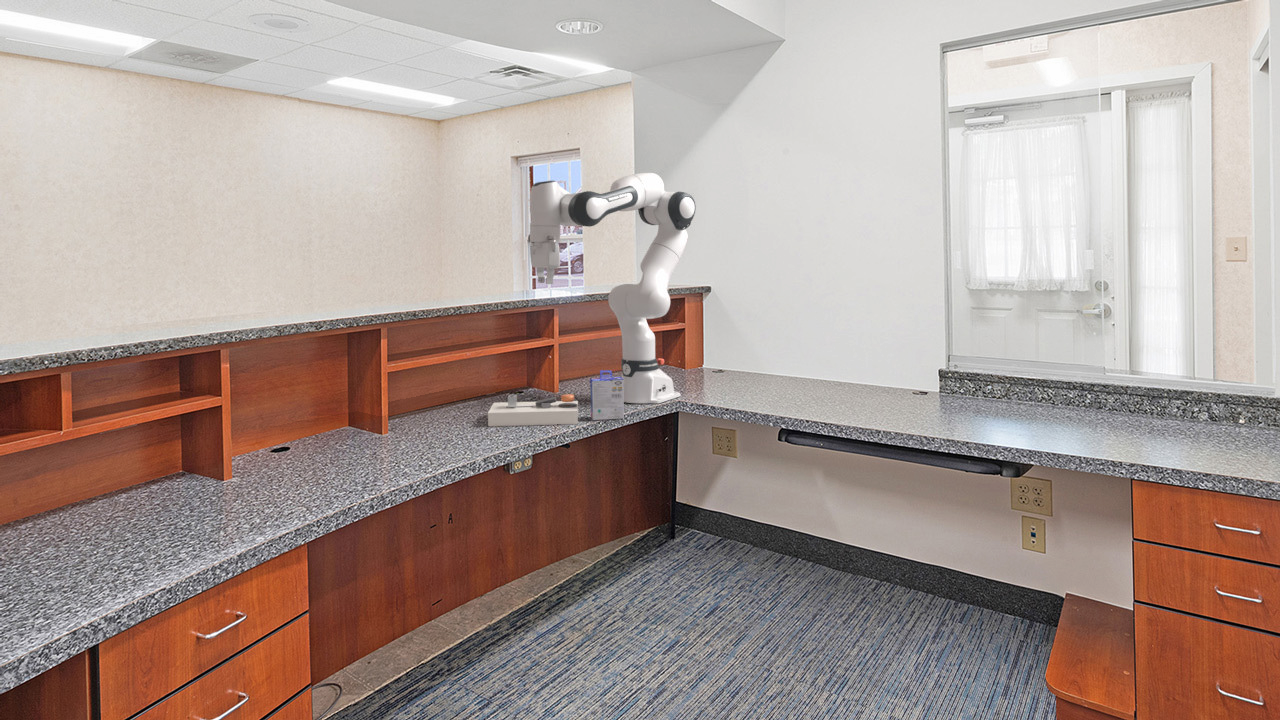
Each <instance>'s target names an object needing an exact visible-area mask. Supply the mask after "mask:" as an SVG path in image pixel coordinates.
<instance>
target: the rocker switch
mask: <svg viewBox="0 0 1280 720" xmlns="http://www.w3.org/2000/svg"><path fill="white" fill-rule="evenodd" d="M556 401H557V396H551V397H547V398H543V399H539V400H536V401H535V402H536V407H537V406H541V405H542V403H554V402H556Z"/></svg>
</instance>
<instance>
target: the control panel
mask: <svg viewBox="0 0 1280 720" xmlns="http://www.w3.org/2000/svg"><path fill="white" fill-rule="evenodd" d="M487 420H488V421H487V424H488V425H487V427H508V426H509V427H512V426H513V427H517V426H518V427H519V426H552V425H553V426H554V425H555V426H558V425H557V424H561V425H578V424H579V401H578V400H574V401H573V402H562V401H561V400H559V401H558V400H556V402H554V403H542V405H541V406H537V407H536V401H517V406H516V407H508V401H505V402H501V401H499V402H493V403H492V405H491V407H490V409H489V410H488V412H487Z"/></svg>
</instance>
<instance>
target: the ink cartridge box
mask: <svg viewBox="0 0 1280 720" xmlns="http://www.w3.org/2000/svg"><path fill="white" fill-rule="evenodd" d="M604 373H609V374H604ZM589 389H590V418H591V420H592V421H601V420H602V421H603V420H604V421H605V420H618V419H619V420H620V419H621V420H624V418H625V409H624V408H625V405H624V403H625V402H624V398H623V379H622V376H613V372H612V369H610V370H609V369H608V370H607V369H606V370H603V369H601V370H599V377H598V378H596V377H594V378H589Z"/></svg>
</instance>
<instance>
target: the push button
mask: <svg viewBox="0 0 1280 720" xmlns="http://www.w3.org/2000/svg"><path fill="white" fill-rule="evenodd" d="M560 401H562V402H573V401H575V394H572V393H571V394H570V393H567V394H566V393H565V394H561V395H560Z"/></svg>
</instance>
